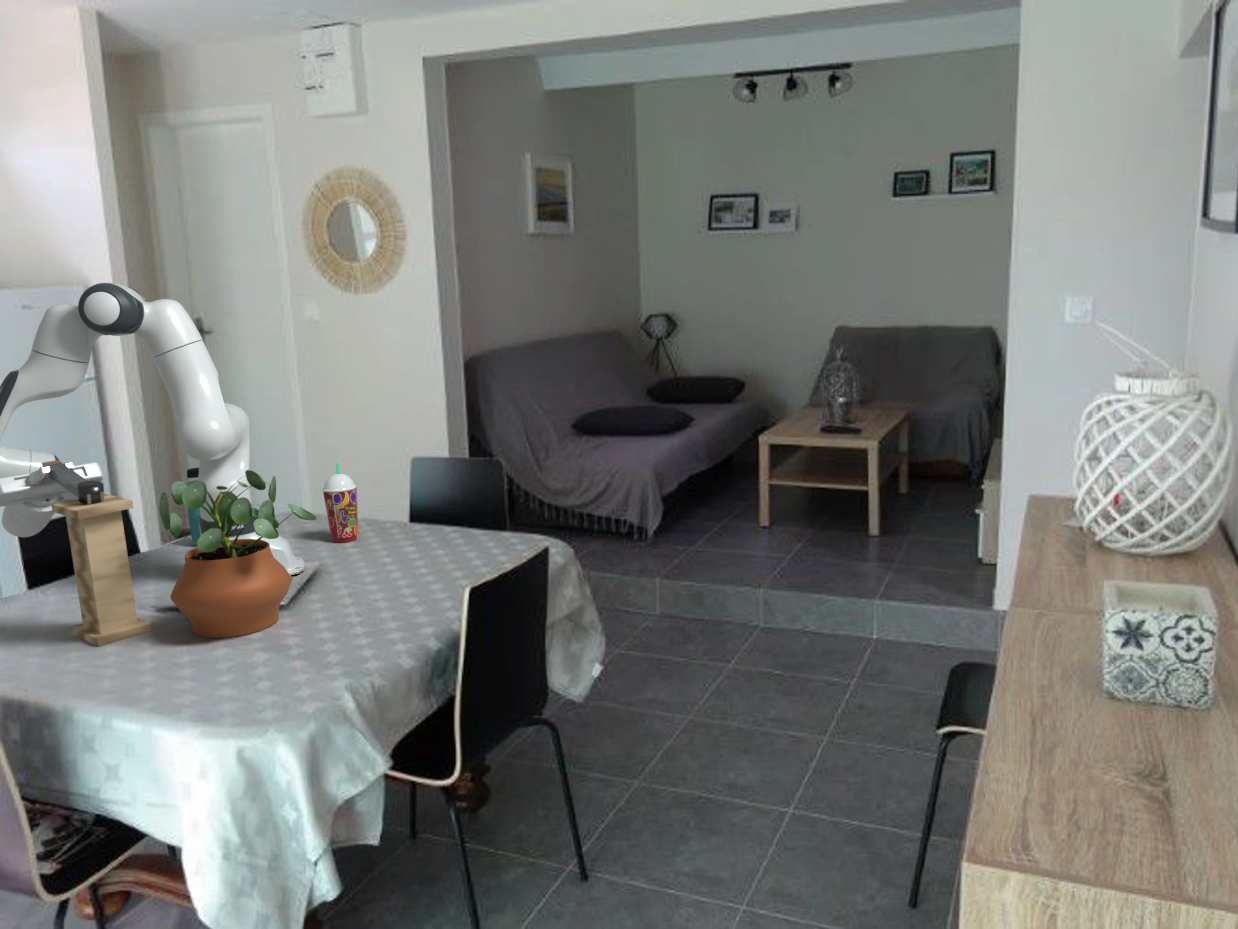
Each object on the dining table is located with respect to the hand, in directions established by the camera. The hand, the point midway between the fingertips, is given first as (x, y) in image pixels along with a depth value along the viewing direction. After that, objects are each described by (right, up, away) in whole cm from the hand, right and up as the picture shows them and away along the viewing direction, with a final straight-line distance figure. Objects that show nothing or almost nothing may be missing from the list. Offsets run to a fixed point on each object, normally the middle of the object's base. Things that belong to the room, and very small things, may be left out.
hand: (58, 467), depth 203 cm
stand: (+12, -32, -3) cm, 34 cm away
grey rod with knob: (+5, -4, -3) cm, 7 cm away
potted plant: (+39, -30, -1) cm, 49 cm away
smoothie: (+41, -19, +59) cm, 74 cm away
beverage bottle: (+4, -20, +62) cm, 66 cm away
